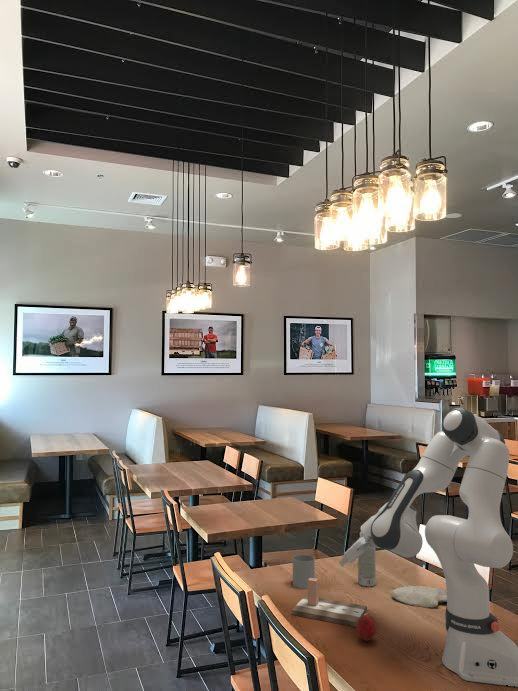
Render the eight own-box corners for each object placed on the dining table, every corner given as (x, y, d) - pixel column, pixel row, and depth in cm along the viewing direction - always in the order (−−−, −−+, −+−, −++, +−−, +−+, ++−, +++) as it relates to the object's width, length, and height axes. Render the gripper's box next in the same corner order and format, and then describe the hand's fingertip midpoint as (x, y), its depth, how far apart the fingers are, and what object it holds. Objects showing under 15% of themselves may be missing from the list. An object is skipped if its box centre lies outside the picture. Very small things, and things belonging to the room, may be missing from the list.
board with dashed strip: (367, 610, 187) (367, 605, 187) (356, 627, 174) (356, 621, 174) (306, 599, 196) (306, 594, 196) (292, 614, 183) (292, 609, 183)
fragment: (458, 609, 190) (457, 594, 190) (402, 617, 188) (401, 603, 188) (440, 588, 205) (439, 575, 205) (387, 596, 203) (386, 583, 203)
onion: (372, 647, 161) (372, 618, 161) (353, 642, 164) (353, 614, 164) (379, 639, 166) (378, 612, 166) (361, 634, 169) (360, 607, 169)
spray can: (378, 583, 213) (377, 530, 215) (372, 588, 207) (371, 534, 209) (362, 579, 217) (361, 528, 218) (355, 585, 211) (355, 531, 212)
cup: (313, 589, 206) (313, 562, 207) (291, 587, 208) (291, 560, 209) (315, 581, 214) (315, 555, 215) (294, 580, 216) (294, 554, 217)
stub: (318, 603, 188) (318, 579, 189) (316, 605, 186) (316, 581, 187) (310, 601, 189) (310, 577, 190) (307, 604, 187) (307, 579, 188)
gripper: (373, 550, 171) (342, 577, 174) (386, 534, 189) (358, 559, 192) (359, 533, 173) (329, 561, 176) (373, 519, 191) (346, 544, 195)
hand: (344, 560), depth 184 cm, fingers open, 8 cm apart
